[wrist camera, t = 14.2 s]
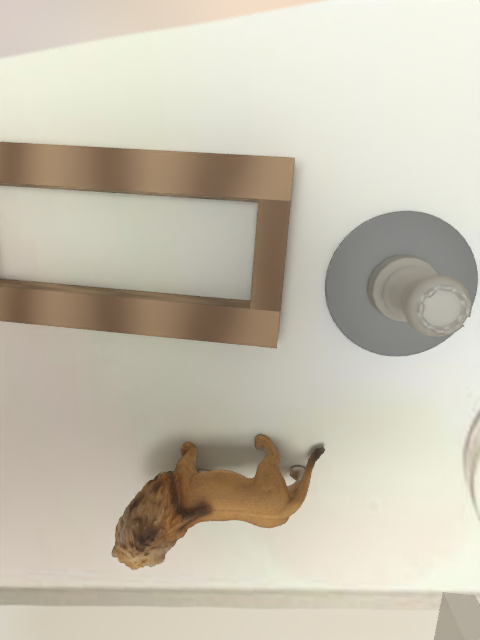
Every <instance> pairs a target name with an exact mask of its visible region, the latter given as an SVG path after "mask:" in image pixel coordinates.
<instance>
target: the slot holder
mask: <svg viewBox="0 0 480 640" xmlns="http://www.w3.org/2000/svg"><path fill="white" fill-rule="evenodd" d="M294 161H295V158H289V157H270V156H252V155H233V154H215V153H196V152H177V151H159V150H140V149H122V148H103V147H84V146H66V145H47V144H29V143H10V142H0V185H3V186H19V187H34V188H50V189H65V190H80V191H96V192H111V193H127V194H142V195H158V196H173V197H189V198H204V199H220V200H235V201H250V202H258V211H257V224H256V237H255V250H254V263H253V277H252V290H251V301H245V300H234V299H222V298H211V297H200V296H188V295H177V294H166V293H154V292H143V291H132V290H120V289H109V288H98V287H86V286H75V285H64V284H52V283H41V282H30V281H18V280H7V279H0V321H6V322H17V323H27V324H37V325H47V326H57V327H67V328H77V329H87V330H98V331H108V332H118V333H128V334H138V335H148V336H158V337H168V338H179V339H189V340H199V341H209V342H219V343H229V344H239V345H249V346H260V347H270V348H277V342H278V331H279V320H280V310H281V299H282V288H283V278H284V267H285V257H286V246H287V235H288V225H289V214H290V203H291V193H292V182H293V171H294Z"/></svg>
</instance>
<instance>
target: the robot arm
mask: <svg viewBox="0 0 480 640" xmlns="http://www.w3.org/2000/svg"><path fill="white" fill-rule="evenodd" d="M434 640H480V604H479V603H478V601H477V599H476V597H475V596H474V595H464V594H454V593H444V592H443V595H442V600H441V605H440V610H439V616H438V621H437V626H436V632H435V637H434Z"/></svg>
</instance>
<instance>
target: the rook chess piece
mask: <svg viewBox="0 0 480 640" xmlns="http://www.w3.org/2000/svg"><path fill="white" fill-rule="evenodd" d="M368 295H369V298H370V302H371V304H372V306H373V307H374V308H375V309H376V310H377V312H378V313H379V314H381V315H383V316H385V317H387V318H389V319H391V320H393V321H401V322H408V323H409V324H410V325H411V327H412V328H413V329H414V330H415V331H417V332H419V333H421V334H423V335H425V336H433V337H440V336H443V335H447V334H451V333H452V332H454V331H455V332H456V331H457V330H459V329H460V328H462V327H463V326H464V325H463V323H464V321H465V320H466V318H467V317H470V314H471V309H472V307H470V306H471V300H470V296H469V292H468V290H467V289H466V287H465V286H464V285H463V284H462V282H461V281H459V280H457V279H455V278H453V277H451V276H447V275H438V274H437V273H436V271H435V270H434V269H433V268H432V266H431V265H430V264H429V263H427V262H425V261H423V260H421V259H419V258H417V257H415V256H412V255H398V256H394V257H391V258H388V259H386V260H385V261H384V262H382V263H381V264H380V265H379V266H377V267H376V268H375V270H374V272H373V274H372V275H371V277H370V279H369V285H368Z"/></svg>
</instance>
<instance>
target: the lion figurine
mask: <svg viewBox="0 0 480 640" xmlns="http://www.w3.org/2000/svg"><path fill="white" fill-rule="evenodd" d="M254 443H255V447H256V448H257V449H259V450H265V451H266V453H267V455H266V457H265V458H264V460H263V461H262V462H261V463H260V464H259V465H258V468H257V472H256V475H255V477H254V478H246V477H245V476H243V475H240V474H238V473H235V472H233V471H228V470H211V471H205V470H200V471H197V470H196V468H195V466H194V464H195V460H196V458H197V457H198V453H197V450H196V447H195V446H194V445H193V444H191V443H189V442H186V443H185V444H183V445H182V448H181V453H182V455H183V457H182V458H181V460H180V461H179V462H178V464H177V466H176V468H175V471H173V472H172V471H169V472H167V473H165V472H163V473H159V474H158V475H157V476H156V477H155V478H154V480H150V481H148V482H147V483H146V485H145V486H144V487H143V489H142V490H141V491H140V492H138V493H137V495H136V496H135V498H134V499H133V500H132V501H131V502H130V504H129V505H128V506H127V508H126V509H125V511H124V514H123V516H122V517H120V519H119V522H118V524H117V526H116V533H115V538H116V541H115V546H114V548H113V550H112V556H113V557H118V560H119V562H121V563H125V565H126V566H128V567H130V568H131V569H133V570H134V569H138V568H140V567H144V566H146V565H148V566H150V567H152V566H155V565H156V564H160V563H162V562H163V561H164V559H165V554H166V553H167V552H168V551H169V550H170V549H171V547H173V546H174V545H175V543H176V541H177V540H178V539H179V538H182V537H183V536H184V535H185V533H186V532H187V530H188V528H190V527H192V526H194V525H195V524H197V523H199V522H204V521H228V520H241V521H245V522H248V523H251V524H253V525H256V526H259V527H264V528H273V527H276V526H280V525H282V524H285V523H286V522H287V520H288V519H289V516H291V515H292V514H294V513H295V512H296V511H297V510H298V509H299V508H300V506H301V505H302V503H303V501H304V499H305V497H306V494H307V491H308V487H309V483H310V478H311V473H312V469H313V467H314V464H315V462H316V461H317V459H318V458H319V457H320V455H322V454H323V453H324V451H325V448H324V447H322V448H317V449H315V450H314V451H313V453H312V454H311V456H310V458H309V459H308V462H307V465H306V468H305V469H304V468H303V467H294V468H292V470H291V472H290V476H291V477H292V478H293V479H294V480H297V481H296V482H295V483H293V484H292V485H290V486H286V483H285V480H284V478H283V475H282V473H281V471H280V469H279V466H278V462H279V460H280V454H279V452H278V451H277V450H276V449H275V447H274V446H273V444H272V442H271V441H270V439H269V438H268V437H266V436H264V435H258V436H256V437H255V442H254Z"/></svg>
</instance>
